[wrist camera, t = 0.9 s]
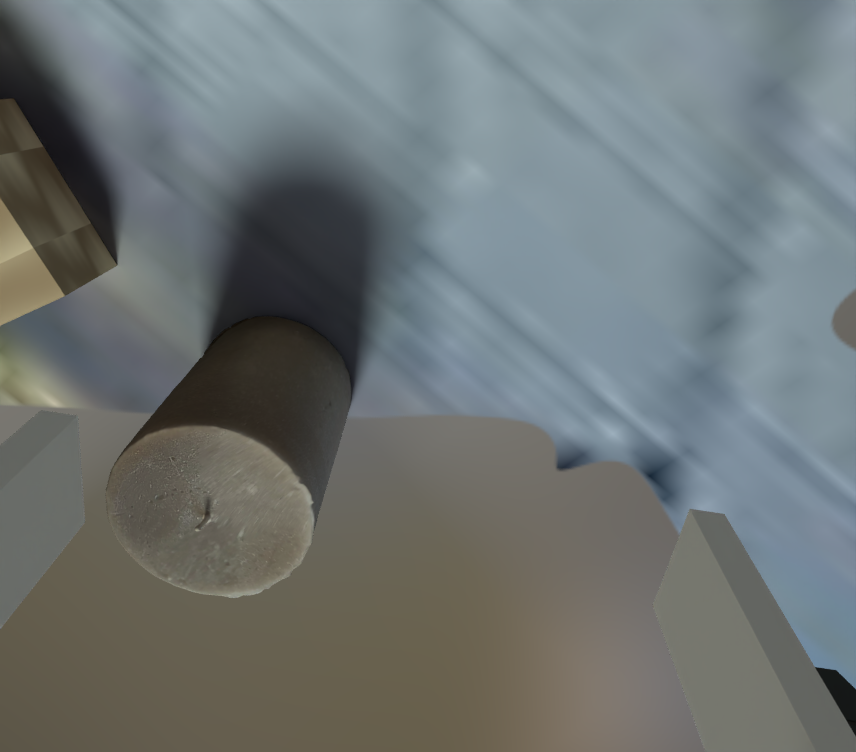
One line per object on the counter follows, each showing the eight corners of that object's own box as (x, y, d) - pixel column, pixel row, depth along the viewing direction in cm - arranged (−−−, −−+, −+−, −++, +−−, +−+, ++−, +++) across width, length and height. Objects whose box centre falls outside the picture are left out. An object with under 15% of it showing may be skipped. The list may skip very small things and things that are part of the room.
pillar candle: (173, 347, 43) (42, 482, 29) (312, 291, 41) (242, 407, 28) (248, 471, 47) (163, 642, 33) (379, 424, 45) (347, 585, 31)
